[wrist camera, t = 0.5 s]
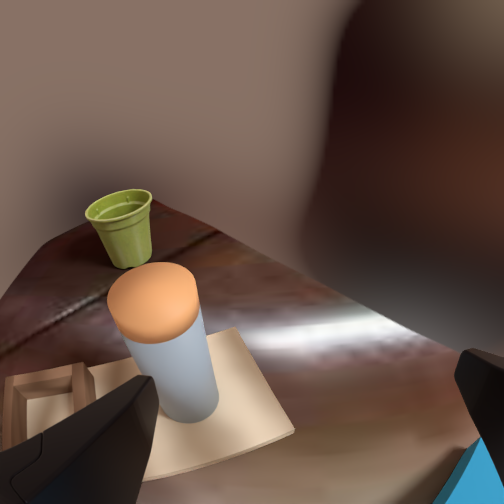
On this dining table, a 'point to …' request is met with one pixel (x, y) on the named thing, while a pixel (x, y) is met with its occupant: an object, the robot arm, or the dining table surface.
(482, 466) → the lever
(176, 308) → the orange-capped blue cylinder
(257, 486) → the dining table surface
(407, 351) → the dining table surface
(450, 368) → the dining table surface
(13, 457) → the robot arm
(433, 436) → the dining table surface
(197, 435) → the jig
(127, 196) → the plant pot
